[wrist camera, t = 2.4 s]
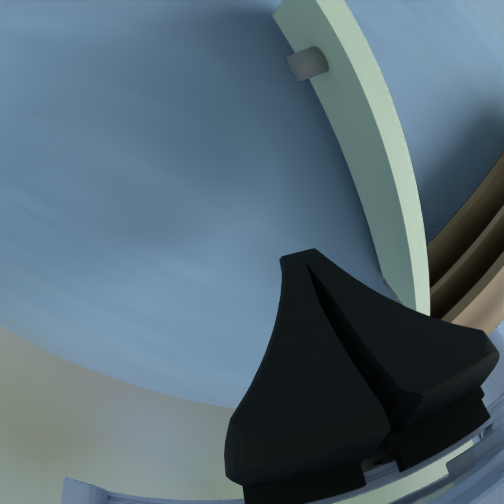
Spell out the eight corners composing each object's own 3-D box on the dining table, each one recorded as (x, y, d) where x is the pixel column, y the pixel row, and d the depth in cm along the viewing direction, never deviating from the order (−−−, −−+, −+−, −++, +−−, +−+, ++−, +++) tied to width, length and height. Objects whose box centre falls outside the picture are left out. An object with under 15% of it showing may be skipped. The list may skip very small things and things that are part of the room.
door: (291, 9, 8) (326, -29, 4) (396, 279, 15) (430, 325, 12) (249, 24, 8) (265, -14, 4) (370, 293, 16) (401, 343, 12)
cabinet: (531, 193, 13) (570, 220, 9) (421, 321, 19) (452, 368, 14) (518, 129, 11) (570, 153, 6) (387, 282, 16) (429, 342, 11)
